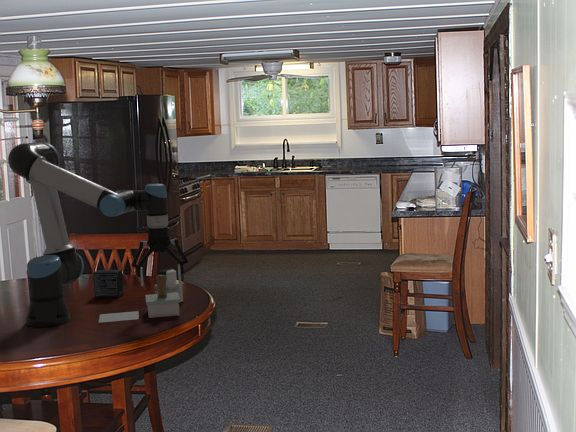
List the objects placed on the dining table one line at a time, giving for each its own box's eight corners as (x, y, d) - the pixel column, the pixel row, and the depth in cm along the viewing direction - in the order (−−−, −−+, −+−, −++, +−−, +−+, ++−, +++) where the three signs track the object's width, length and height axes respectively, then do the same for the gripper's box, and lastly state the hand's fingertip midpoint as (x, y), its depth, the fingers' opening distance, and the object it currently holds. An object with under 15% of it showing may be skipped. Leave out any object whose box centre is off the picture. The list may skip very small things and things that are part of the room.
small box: (124, 293, 320) (122, 268, 319) (119, 297, 314) (117, 272, 313) (99, 294, 322) (97, 269, 320) (94, 298, 315) (92, 272, 314)
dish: (148, 318, 278) (147, 305, 278) (148, 311, 289) (147, 298, 288) (179, 315, 280) (178, 302, 280) (177, 308, 291) (176, 295, 290)
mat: (98, 323, 274) (98, 322, 274) (99, 315, 286) (99, 314, 286) (138, 319, 277) (138, 319, 277) (138, 311, 289) (138, 311, 289)
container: (155, 304, 300) (153, 271, 298) (167, 299, 306) (165, 267, 305) (171, 305, 296) (169, 272, 294) (183, 301, 303) (181, 268, 301)
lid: (146, 305, 277) (144, 280, 276) (145, 298, 289) (144, 273, 287) (180, 302, 279) (178, 277, 278) (178, 295, 291) (176, 271, 290)
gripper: (122, 230, 274) (126, 288, 277) (193, 225, 279) (196, 283, 282) (122, 227, 282) (126, 284, 285) (191, 223, 287) (194, 279, 289)
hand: (161, 284), depth 283 cm, fingers open, 13 cm apart
